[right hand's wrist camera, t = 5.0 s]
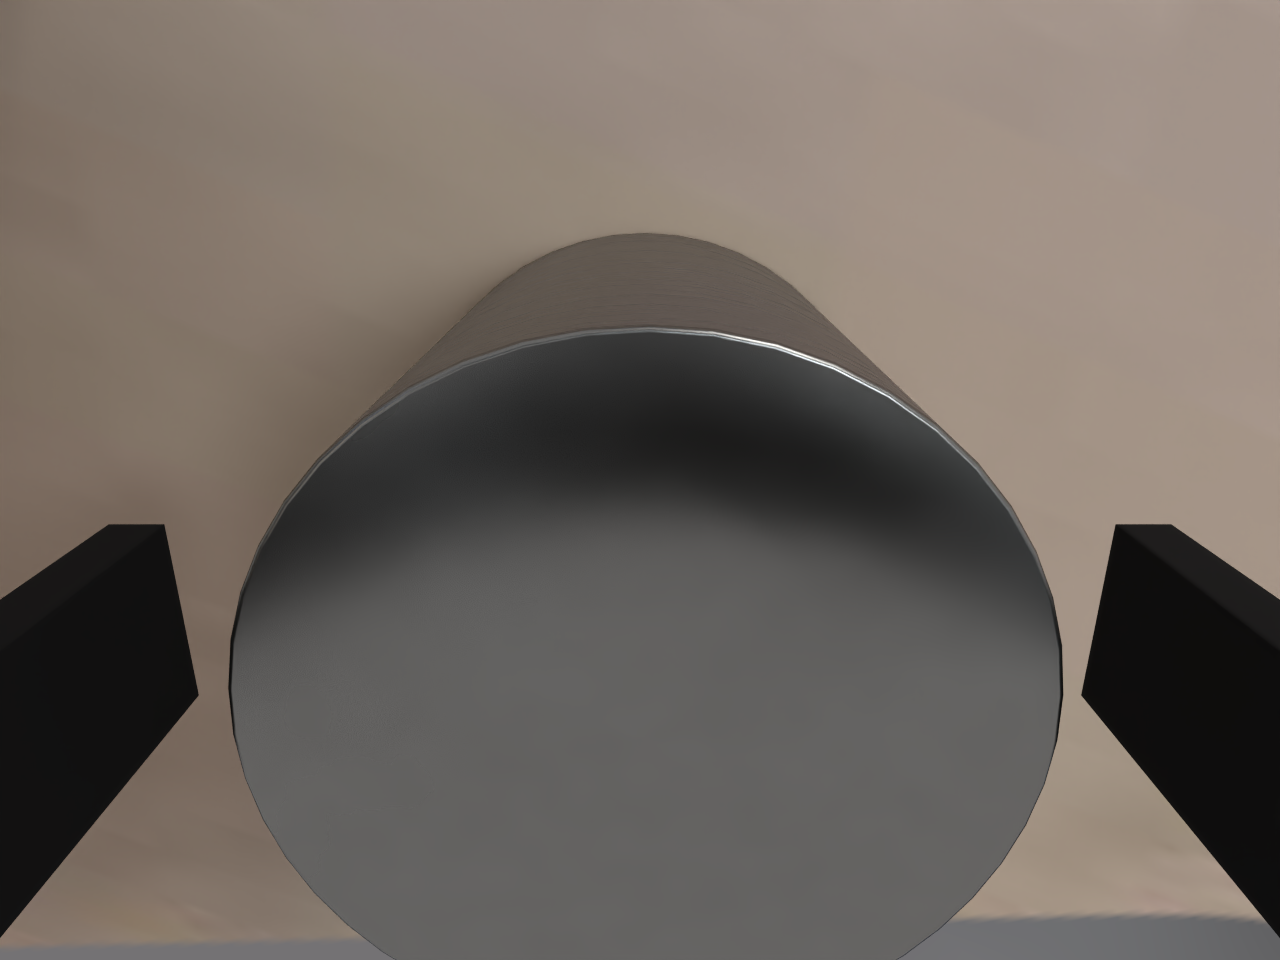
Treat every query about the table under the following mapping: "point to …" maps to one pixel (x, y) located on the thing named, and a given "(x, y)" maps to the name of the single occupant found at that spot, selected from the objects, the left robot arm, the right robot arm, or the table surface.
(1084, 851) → the table surface
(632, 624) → the tin
